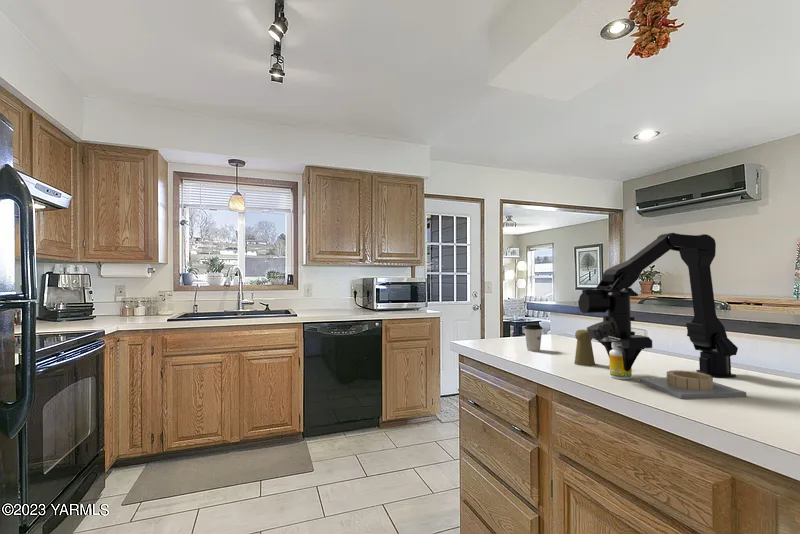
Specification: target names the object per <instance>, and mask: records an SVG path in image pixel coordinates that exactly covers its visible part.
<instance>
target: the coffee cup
mask: <svg viewBox="0 0 800 534" xmlns="http://www.w3.org/2000/svg"><path fill="white" fill-rule="evenodd" d="M523 329H524V335H525V343H526V350H527V351H528V352H540V351H541V343H542V334H543V333H542V332H543V326H542V325H541V324H539V323H526V325H524V326H523Z"/></svg>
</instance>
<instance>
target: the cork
mask: <svg viewBox="0 0 800 534" xmlns="http://www.w3.org/2000/svg"><path fill="white" fill-rule="evenodd" d="M574 336H575V339H576V346H575V354H574V355H575V356H574V365H577V366H581V367H582V366H583V367H594V366H596V362H595V357H594V355H595V354H594V351H593V350H594V349H593V345H592V343H593V342H592V340H593V339H591V338H590V336H589V333H588V330H587V329H578V330H576V331H575V334H574Z"/></svg>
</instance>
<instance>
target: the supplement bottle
mask: <svg viewBox="0 0 800 534" xmlns="http://www.w3.org/2000/svg"><path fill="white" fill-rule="evenodd" d="M617 346H623V345H622V343H621V342H612V348H613V349H612V350H610V352H609V356H608V358H609V359H608V360H609V376H610V377H611V378H612V379H616V380H620V381H621V380H624V381H627V380H631V379H632V375H633V373H632V372H633V370H632V368H633V367H631V369H630V371H625V369H624V363H623V355H622V351H621V350H620V349H619V348H618V347H617Z"/></svg>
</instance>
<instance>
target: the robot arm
mask: <svg viewBox="0 0 800 534" xmlns="http://www.w3.org/2000/svg"><path fill="white" fill-rule="evenodd" d="M716 245H717V244H716V239H715V238H714V237H712V236H711V235H709V234H695V235H693V234H683V233H675V232H668V233H662V234H659V235H658V236H657V237H656V239H655V240H653V241H652V242H651V243H649V244H647V245H646V246H645V247H644V248H642V249H641V250H639V252H637V253H636V254H634V255H633V256H632V257H630V258H629V259H628V260H625V261H623V262H621V263H618V264H615V265H613V266H611V267H610V268H608V269H606V270H604V272H603V274H602V278H601V280H600V281H599V283H598V284H597V286H596V287H595V288H594V289H591V288H582V290H581V292H582V293H580V295H579V298H578V300H577V301H578V303H577V305H578V308H579V310H580V312H581V313H582V314H605V313H606V312H607V315H604V316H603V319H602V321H600V322H597V323H595V324H592V325H590V326H588V327H586V330H588V333H589V336H590V338H591V339H592V340H595V341H597V342H598V343H600V344H601V345H602V346H603V347H604V348H605V351H606V353H607V356H608V357H609V352H610V350H612V349H613V348H612V342H621V343H622V345H623V346H617V347H618V348H619V349H620V350H621V351H622V355H623V363H624V369H625V371H630V369H631V368H633V367H632V366H633V365H634V363H635V361H636V359H637V358H638V356H639V355H640V353H641V352H642V350H645V349H653V339H651V338H650V337H649V336H645V335H642V334H640V335H639V334H636V332H635V331H633V330H632V321H633V322H634V321H635V316H631V315H632V314H631V297H638V296H639V294H638V292H636V291H635V290H633V288H631V287H632V286H633V285H634V284H635V282H636V281H638V280H639V278H640V275H641V273H642V272H643V271H644V270H646V268H648V267H649V266H650V265H652V264H653V263H654V262H657V260H659V259H660V258H661V257H662V256H664V255H665V254H667V253H668V252H670V251H675V252H679V255H680V258H681V260H682V261H683V262H684V264H685V266H687V269H688V276H689V284H690V292H691V300H692V307H693V308H692V309H693V319H691V321H690V322H686V324H685V327H686V330H687V334H686V337H688V338H689V342H690V343H692V344H693V348H694V350H695V351H699V355H700V356H699V358H698V359H699V361H698V362H699V364H698V365H699V366H698V367H699V369H696V371H695V372H699V373H704V374H707V375H710V376H711V377H713V378H726V377H727V378H728V377H729V378H730V377H731V378H732V377H737V374H734V373H732V370H731V369H732V367H731V365H732V364H731V357H732V356H737V353H738V350H739V347H738V346H737V345H736V344H734V342H733V341H732V340H731V339H729V338H728V335H727V331H726V328H725V326H724V324H723V323H722V322H721V320H720V319H719V318H718V315H717V313H716V312H717V311H716V304H715V303H716V302H715V294H714V287H713V280H712V272H711V271H712V270H711V265H712V263H713V260H714V259H715V257H716V252H717V251H716Z"/></svg>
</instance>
